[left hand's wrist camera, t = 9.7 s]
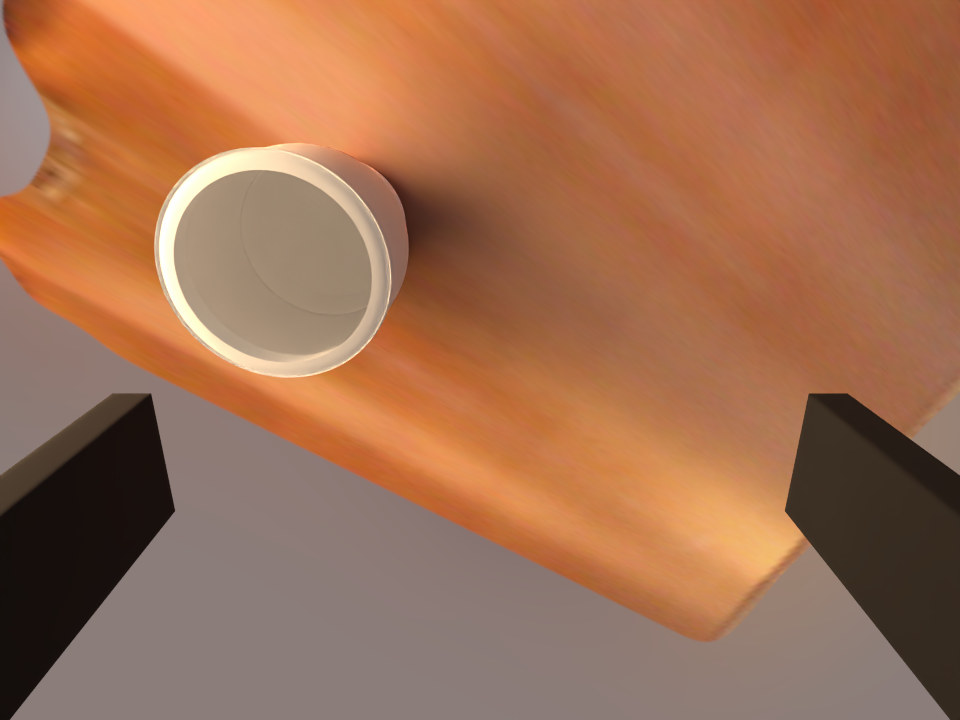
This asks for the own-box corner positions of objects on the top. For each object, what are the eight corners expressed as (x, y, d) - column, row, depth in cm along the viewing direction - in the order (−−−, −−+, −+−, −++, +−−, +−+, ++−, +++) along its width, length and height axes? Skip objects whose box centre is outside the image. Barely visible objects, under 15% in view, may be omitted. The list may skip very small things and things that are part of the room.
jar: (236, 238, 42) (112, 294, 28) (314, 104, 39) (220, 92, 25) (369, 326, 44) (317, 420, 30) (452, 206, 41) (438, 247, 27)
